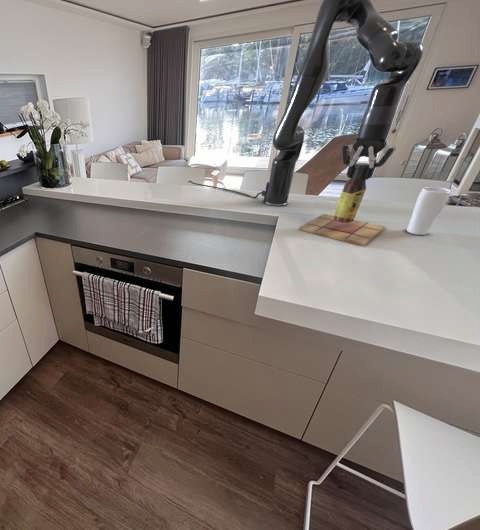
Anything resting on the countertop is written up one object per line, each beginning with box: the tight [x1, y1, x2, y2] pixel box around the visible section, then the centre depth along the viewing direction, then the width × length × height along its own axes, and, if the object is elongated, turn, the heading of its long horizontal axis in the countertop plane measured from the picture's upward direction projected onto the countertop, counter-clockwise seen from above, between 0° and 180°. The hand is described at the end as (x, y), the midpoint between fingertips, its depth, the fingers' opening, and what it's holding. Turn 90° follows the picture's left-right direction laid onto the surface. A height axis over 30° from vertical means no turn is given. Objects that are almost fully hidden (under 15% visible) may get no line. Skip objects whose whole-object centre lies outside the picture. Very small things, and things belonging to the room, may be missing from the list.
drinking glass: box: [406, 186, 452, 236], centre depth 96 cm, size 7×7×15 cm
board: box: [299, 213, 386, 247], centre depth 105 cm, size 20×20×1 cm
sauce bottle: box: [333, 162, 369, 223], centre depth 99 cm, size 6×6×20 cm
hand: (357, 178), depth 97 cm, fingers closed on sauce bottle, 4 cm apart
